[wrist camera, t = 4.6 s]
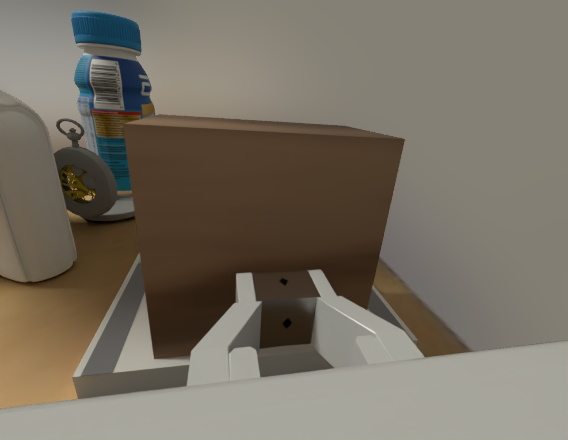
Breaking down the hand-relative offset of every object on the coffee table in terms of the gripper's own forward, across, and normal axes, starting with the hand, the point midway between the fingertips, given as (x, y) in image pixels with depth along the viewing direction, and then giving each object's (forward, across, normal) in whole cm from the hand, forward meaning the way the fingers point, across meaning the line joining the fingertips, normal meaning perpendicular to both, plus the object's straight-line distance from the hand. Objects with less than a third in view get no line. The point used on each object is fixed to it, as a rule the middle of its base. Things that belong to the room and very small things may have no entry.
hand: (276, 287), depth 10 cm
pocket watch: (+23, +14, +7) cm, 28 cm away
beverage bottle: (+34, +15, +7) cm, 38 cm away
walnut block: (+5, 0, +5) cm, 7 cm away
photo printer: (+14, +17, +7) cm, 24 cm away
